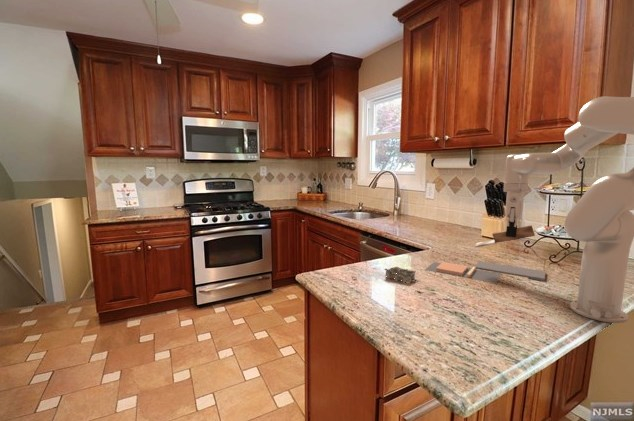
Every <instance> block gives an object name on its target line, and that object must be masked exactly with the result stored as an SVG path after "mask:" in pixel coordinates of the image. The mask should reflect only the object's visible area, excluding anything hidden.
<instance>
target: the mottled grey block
mask: <svg viewBox="0 0 634 421" xmlns="http://www.w3.org/2000/svg"><path fill="white" fill-rule="evenodd" d="M384 271H385V277H386V276H387V277H386V279H387V278H395V279H394V281H395V280H402V281H401V282H402V283H403V282H411V283H412V281H414V280H415V277H416V271H417V270H410V269H407V268H406V269H405V268H401V267H399V266H394V267H390V268H384ZM396 273H397V274H396ZM397 275H398V276H397Z"/></svg>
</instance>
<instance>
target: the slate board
mask: <svg viewBox="0 0 634 421" xmlns="http://www.w3.org/2000/svg"><path fill="white" fill-rule="evenodd" d="M473 267H476V269H477V270H483V271H489V272H495V273H500V274H506V275H507V274H508V275H513V276H518V277H526V278H528V279H530V280H535V281H542V282H545V281H546V271H544V270H538V269H534V268H533V269H531V268H525V267H519V266H515V265H509V264H501V263H493V262H488V261H484V260H483V261H481V260H478V261H477V263H476V264H475V265H474V266H473Z"/></svg>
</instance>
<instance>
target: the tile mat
mask: <svg viewBox="0 0 634 421" xmlns="http://www.w3.org/2000/svg"><path fill="white" fill-rule="evenodd" d="M441 263H442V262H438V261H433V262H432V263H431V264H430V265H429V266H428V267H426V268H425V269H424V271H429V272H433V273H440V274H444V275H449V276H450V275H451V276H455V277H460V278H463V279H464V278H465V279H470V280H475V281H481V282H487V283H491V284H497V282H498V280H499V278H500V276H501V274H502V273H500V272H495V271H489V270H483V269H477V268H476V267H474V266H471V267H472V268H470V267H468V269H467V270H466V272H465V273H464V274H463V275H462V276H461V275H456V274H450V273H445V272H440V271H436V268H437V267H438V266H439V265H440V264H441Z"/></svg>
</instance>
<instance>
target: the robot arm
mask: <svg viewBox="0 0 634 421" xmlns="http://www.w3.org/2000/svg"><path fill="white" fill-rule="evenodd" d="M577 120H578V122H576V123H574V124H573V125H571V126H570V127H567V129H566V130H565V131H564V134H563V136H564V137H563V138H564V141H565V142H566V143H565V144H564V145H562V146H561V147H558V149H556V150H554V151H553V152H529V153H520V154H518V153H515V154H509V155H507V156H506V158H505V166H504V167H505V168H504V180H503V193H506V200H505V218H506V219H507V225H506V236H507V237H516V231H517V228H518V219H519V220H521V219H522V218H523V208H524V197H525V195H524V194H525V193H528V187H529V178H530V176H543V175H546V176H549V175H555V174H558V173H560V172H562V171H564V170H566V169H568V168H570V167H573V166H574V165H575V164H576V163H577V164H578V162H579V161H580V160H582V158H584V156H585V155H586V153H587V152H588V151H589V150H591V149H593V148H595V147H596V146H598V145H600V144H602V143H603V142H605V141H607V140H608V139H610V138H612V137H614V136H616V135H618V134H622V135H624V134H625V135H633V136H634V96H605V95H604V96H598V97H596V98H595V97H594V98H593V99H591V100H590V101H588V102H586V104H584V105H583V106H582V108H581V109H580V110H579V113H578V117H577ZM631 211H634V166H633V167H632V168H631V169H630V170H629V171H627V172H623V173H610V174H608V175H605V176H603V177H600V178H599V179H597V180H596V181H594V182H593V183H592V184H591V185H590V186H589V187H588V188H587V190H586V191H585V192H584V193H583V194H582V195H581V197H580V198H579V199H578V201H577V202H576V203H575V204H574V206H572V208H571V209H570V211H569V212H568V214H567V215H566V217H565V220H564V230H565V232H566V233H567V235H568V236H569V237H570V238H571V239H574V240H576V241H579V242H583V243H584V242H585V243H584V247H583V250H582V256H581V263H580V264H581V265H580V273H579V283H578V291H577V292H578V293H577V299H576V300H573V301H571V302H570V303H569V308H570V309H571V310H572V311H573V312H574V313H576V314H578V315H580V316H583V317H585V318H588V319H591V320H595V321H599V322H603V323H610V324H611V323H612V324H622V323H623V324H624V323H625V322H626V323H627V322H628V320H629V314H627V313H626V312H625V311H624V310H622V306H623V299H624V293H625V286H626V284H625V283H626V277H627V271H628V270H627V268H628V263H629V257H630V251H631V247H632V244H633V242H634V213H633V212H631Z"/></svg>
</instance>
